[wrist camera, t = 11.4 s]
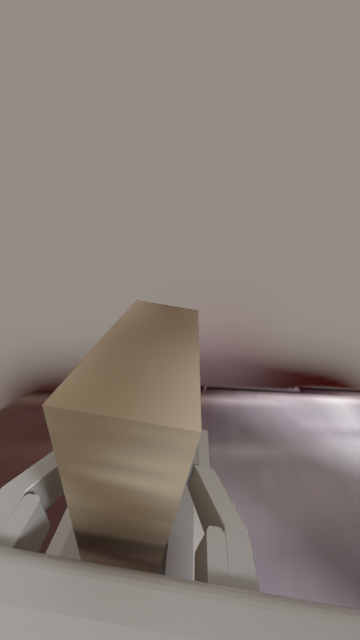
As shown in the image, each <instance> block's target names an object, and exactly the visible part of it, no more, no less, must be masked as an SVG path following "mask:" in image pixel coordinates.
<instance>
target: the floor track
mask: <svg viewBox="0 0 360 640" xmlns="http://www.w3.org/2000/svg"><path fill="white" fill-rule="evenodd" d="M204 534H205V533H204V531H203V528H202V525H201V522H200V520H199V517H198V514H197V512H196V509H195V506H194V503H193V501H192V498H191V495H190V493H189V490H188V486H185V487H184V490H183V494H182V497H181V500H180V503H179V506H178V510H177V513H176V516H175V519H174V522H173V526H172V529H171V532H170V535H169V538H168V542H167V545H166V548H165V551H164V554H163V557H162V561H161V564H160V567H159V570H158V573H157V574H161V575H167V576H172V577H178V578H183V579H189V580H194V559H195V551H196V549H197V547H198V545H199V543H200V541H201V540H202V538H203V536H204ZM45 554H49V555H54V556H60V557H66V558H71V559H77V560H81V558H80V554H79V550H78V546H77V542H76V538H75V534H74V530H73V526H72V522H71V518H70V514H69V510H68V506H67V509H66V511H65V513H64V515H63V517H62V519H61V521H60V524H59V526H58V528H57V530H56V532H55V534H54V536H53V538H52V541H51V543H50V545H49V547H48V549H47V551H46V553H45Z"/></svg>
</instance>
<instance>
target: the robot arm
mask: <svg viewBox="0 0 360 640" xmlns="http://www.w3.org/2000/svg"><path fill="white" fill-rule="evenodd" d="M185 486H188V490H189V493H190V495H191V498H192V501H193V503H194V506H195V509H196V512H197V514H198V517H199V520H200V522H201V525H202V528H203V531H204V533H205V534H204V536H203V538H202V540H201V541H200V543H199V545H198V547H197V549H196V551H195V559H194V580H189V579H183V578H178V577H172V576H167V575H161V574H155V573H150V572H144V571H139V570H133V569H127V568H122V567H116V566H110V565H105V564H99V563H94V562H88V561H82V560H77V559H71V558H66V557H60V556H54V555H49V554H43V553H38V552H39V550H40V548H41V545H42V543H43V541H44V539H45V537H46V535H47V533H48V531H49V529H50V522H49V520H48V517H47V515H46V512H45V511H46V510H47V509H48V508H49V507H50V506H51V505H52V504H53V503H54V502H55V501H56V500H57V499H58V498H59V497H60V496H61V495H62V494H63V493H64V490H63V486H62V482H61V478H60V475H59V471H58V467H57V463H56V459H55V455H54V451H52V452H51V453H49V454H48V455H46V456H45V457H44V458H42V459H41V460H39V461H38V462H37V463H35V464H34V465H32V466H31V467H30V468H28V469H27V470H25V471H24V472H23V473H21V474H20V475H18V476H17V477H16V478H14V479H13V480H11V481H10V482H9V483H7V484H6V485H4V486H3V487H2V488H1V489H0V640H360V610H357V609H352V608H346V607H341V606H335V605H329V604H324V603H318V602H312V601H307V600H301V599H296V598H290V597H284V596H279V595H273V594H268V593H262V592H260V591H259V586H258V580H257V575H256V569H255V563H254V558H253V552H252V546H251V541H250V535H249V531H248V529H247V527H246V525H245V524H244V522H243V520H242V518H241V516H240V515H239V513H238V511H237V509H236V508H235V506H234V504H233V502H232V500H231V499H230V497H229V495H228V493H227V491H226V490H225V488H224V486H223V484H222V483H221V481H220V479H219V477H218V475H217V474H216V472H215V470H214V468H211V467H210V456H209V441H208V431H207V430H205V429H202V433H201V436H200V439H199V442H198V446H197V449H196V452H195V455H194V458H193V462H192V465H191V468H190V471H189V474H188V478H187V481H186V484H185Z"/></svg>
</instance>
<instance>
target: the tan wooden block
mask: <svg viewBox="0 0 360 640" xmlns="http://www.w3.org/2000/svg"><path fill="white" fill-rule="evenodd" d="M42 407H43V411H44V415H45V419H46V423H47V427H48V431H49V435H50V439H51V443H52V447H53V451H54V455H55V459H56V463H57V467H58V471H59V475H60V478H61V482H62V486H63V490H64V494H65V498H66V502H67V506H68V510H69V514H70V518H71V522H72V526H73V530H74V534H75V538H76V542H77V546H78V550H79V554H80V558H81V560H82V561H88V562H94V563H99V564H105V565H110V566H116V567H122V568H127V569H133V570H139V571H144V572H150V573H155V574H157V573H158V570H159V567H160V564H161V561H162V557H163V554H164V551H165V548H166V545H167V542H168V538H169V535H170V532H171V529H172V526H173V522H174V519H175V516H176V513H177V510H178V506H179V503H180V500H181V497H182V494H183V490H184V487H185V484H186V481H187V478H188V474H189V471H190V468H191V465H192V462H193V458H194V455H195V452H196V449H197V446H198V442H199V439H200V436H201V433H202V427H201V394H200V362H199V328H198V311H197V310H192V309H186V308H180V307H174V306H168V305H162V304H156V303H150V302H144V301H138V300H136V301H135V302H134V303H133V304H132V305H131V307H130V308H129V309H128V310H127V311H126V312H125V313H124V314H123V315H122V317H121V318H120V319H119V320H118V321H117V322H116V323H115V324H114V325H113V327H112V328H111V329H110V330H109V331H108V332H107V333H106V334H105V335H104V337H103V338H102V339H101V340H100V341H99V342H98V343H97V344H96V346H95V347H94V348H93V349H92V350H91V351H90V352H89V353H88V354H87V356H86V357H85V358H84V359H83V360H82V361H81V362H80V363H79V364H78V366H77V367H76V368H75V369H74V370H73V371H72V372H71V373H70V375H69V376H68V377H67V378H66V379H65V380H64V381H63V382H62V383H61V384H60V386H59V387H58V388H57V389H56V390H55V391H54V392H53V393H52V394H51V396H50V397H49V398H48V399H47V400H46V401H45V402H44V403H43V404H42Z"/></svg>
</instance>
